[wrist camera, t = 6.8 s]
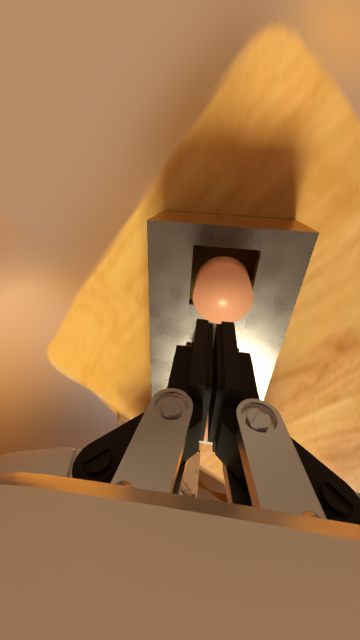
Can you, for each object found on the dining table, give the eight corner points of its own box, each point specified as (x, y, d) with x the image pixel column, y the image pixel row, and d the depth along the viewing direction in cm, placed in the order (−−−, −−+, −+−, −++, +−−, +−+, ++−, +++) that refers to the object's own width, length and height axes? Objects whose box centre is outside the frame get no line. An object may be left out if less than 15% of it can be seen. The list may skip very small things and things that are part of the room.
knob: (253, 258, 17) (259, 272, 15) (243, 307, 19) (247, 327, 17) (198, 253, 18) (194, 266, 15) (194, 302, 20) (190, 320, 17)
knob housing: (295, 219, 21) (318, 232, 16) (242, 410, 35) (246, 450, 30) (163, 210, 22) (147, 220, 17) (162, 398, 36) (152, 434, 31)
